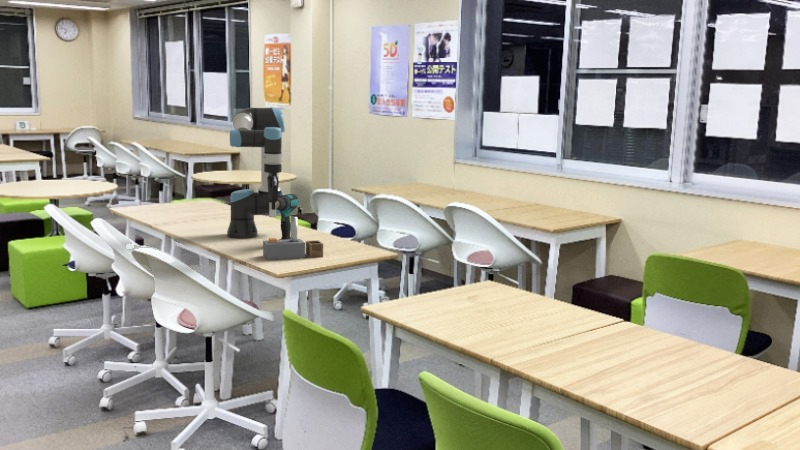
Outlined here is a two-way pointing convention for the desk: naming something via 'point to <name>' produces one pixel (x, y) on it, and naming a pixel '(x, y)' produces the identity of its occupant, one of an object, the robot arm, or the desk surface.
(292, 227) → the cylinder
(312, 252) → the hollow brown square tube
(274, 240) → the plunger
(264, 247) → the socket block
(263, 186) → the robot arm
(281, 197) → the power drill
